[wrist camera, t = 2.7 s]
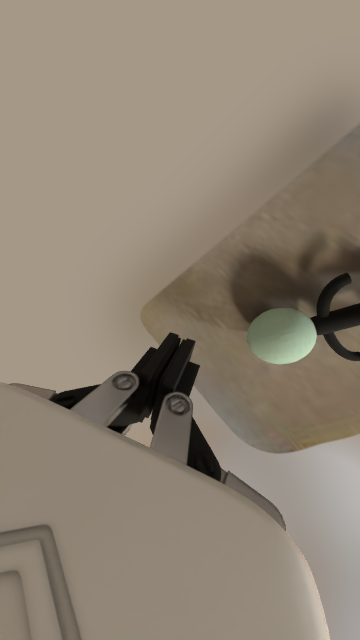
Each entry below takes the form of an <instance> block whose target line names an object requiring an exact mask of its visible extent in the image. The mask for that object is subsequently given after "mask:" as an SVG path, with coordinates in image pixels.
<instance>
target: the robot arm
mask: <svg viewBox="0 0 360 640" xmlns="http://www.w3.org/2000/svg"><path fill="white" fill-rule="evenodd" d="M178 336H179V335H177V334H174V333H171V332H170V333H169V334H168V336H167V337H166V338H165V340H164V341H163V342H162V344H161V345H160V346H159V348H158V349H155V348H153V347H151V348H149V350H148V351H147V352H146V354H145V355H144V356H143V357H142V358H141V359H140V361H139V362H138V363H137V364H136V366H135V367H134V368H133V369H132V371H131V372H130V371H120V372H117V373H115V374H113V375H112V376H111V377H110V378H108V379H107V380H106V381H105V382H103V383H102V384H99V385H94V386H89V387H84V388H79V389H75V390H69V391H64V392H61V393H59V394H57V393H56V391H53V390H49V389H43V388H38V387H34V386H28V385H24V384H18V383H12V384H5V383H1V382H0V640H330V636H329V631H328V627H327V623H326V619H325V615H324V611H323V607H322V603H321V600H320V597H319V593H318V590H317V587H316V584H315V581H314V578H313V575H312V573H311V570H310V568H309V566H308V563H307V561H306V559H305V558H304V556H303V554H302V552H301V551H300V549H299V548H298V547H297V545H296V544H295V542H294V541H293V540H292V539H291V537H290V536H289V535H288V534H287V532H286V527H285V523H284V520H283V517H282V515H281V514H280V512H279V510H278V509H277V508H276V507H275V506H274V505H273V504H272V503H271V502H270V501H269V500H267V499H266V498H265V497H263V496H262V495H261V494H259V493H258V492H257V491H255V490H254V489H252V488H251V487H250V486H249V485H247V484H246V483H244V482H243V481H242V480H240V479H239V478H238V477H236V476H235V475H234V474H232V473H231V472H230V471H228V472H226V471H224V470H223V469H222V468H220V465H219V462H218V461H217V459H216V457H215V455H214V453H213V452H212V450H211V448H210V446H209V445H208V443H207V441H206V439H205V438H204V436H203V434H202V433H201V431H200V429H199V427H198V426H197V424H196V422H195V420H194V419H193V417H192V412H193V403H192V401H191V399H190V398H189V395H190V393H191V390H192V387H193V384H194V381H195V378H196V376H197V373H198V370H199V367H200V365H197V364H195V363H192V362H189V361H190V358H191V355H192V351H193V348H194V345H195V341H193V340H191V339H188V338H187V339H186V340H184V339H183V340H182V342H181V344H180V341H181V338H178ZM179 344H180V346H179ZM152 410H153V411H152ZM151 412H152V416H151V425H150V429H151V431H152V434H153V438H152V442H151V446H150V448H149V447H147V446H145V445H143V444H141V443H139V442H137V441H134V440H132V439H130V438H128V437H126V436H125V435H126V433H127V432H128V431H129V430H130V428H131V426H132V424H133V423H137V422H143V420H144V418H145V417H146V418H149V416H150V414H151Z"/></svg>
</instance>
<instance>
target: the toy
mask: <svg viewBox="0 0 360 640" xmlns="http://www.w3.org/2000/svg"><path fill="white" fill-rule="evenodd" d="M350 283H351V277H350V275H349V274H348V273H344V274H342V275H340V276H338V277H336V278H335V279H333V280H332V281H331V282H330V283H328V284H327V286H326V287H325V288H324V289H323V291H322V292H321V294H320V296H319V299H318V302H317V316H314V317H312V318H309V317H308V316H307V315H306V314H304V313H302V312H301V311H298V310H296V309H292V308H275V309H271V310H268V311H265V312H263V313H262V314H260V315H259V316H257V317H256V318H255V319H254V320H253V322H252V323H251V325H250V326H249V329H248V333H247V342H248V345H249V347H250V349H251V351H252V352H253V353H254V354H255V355H256V356H257V357H259V358H260V359H262V360H264V361H266V362H269V363H274V364H287V363H292V362H295V361H298V360H300V359H301V358H303V357H305V356H306V355H307V354H308V353H309V352H310V351H311V350H312V348H313V347H314V345H315V342H316V337H317V335H323V336H324V338H325V340H326V341H327V343H328V344H329V346H330V347H331V348H332V349H333V350H334V351H335V352H336V353H337V354H339V355H340V356H342V357H343V358H345V359H348V360H352V361H360V352H351V351H349V350H347V349H345V348H344V347H343V346H342V345H341V344H340V342H339V341H338V340H337V338H336V336H335V334H334V331H338V330H342V329H346V328H350V327H354V326H358V325H360V303H359V304H355V305H352V306H348V307H345V308H342V309H338V310H335V311H331V312H330V303H331V300H332V298H333V296H334V295H335V294H336V293H337V292H338V290H340V289H341V288H342V287H344V286H345V285H348V284H350Z"/></svg>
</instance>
